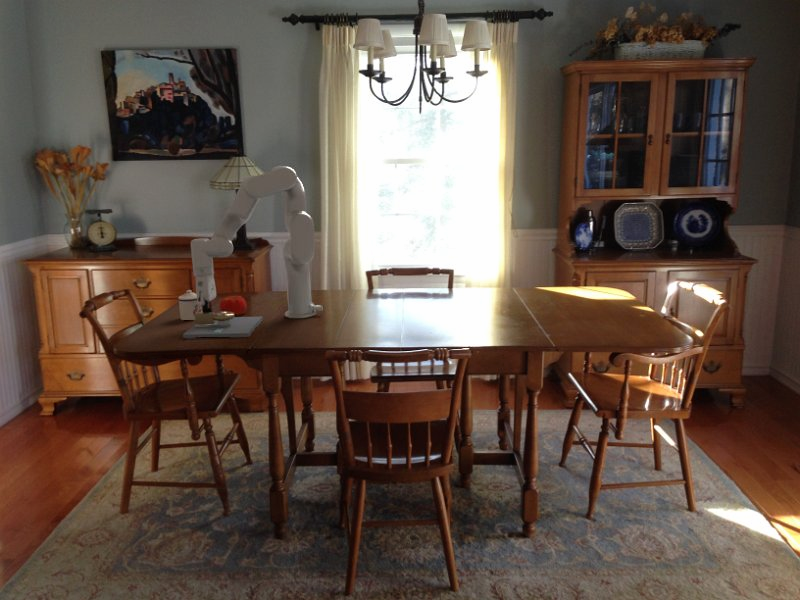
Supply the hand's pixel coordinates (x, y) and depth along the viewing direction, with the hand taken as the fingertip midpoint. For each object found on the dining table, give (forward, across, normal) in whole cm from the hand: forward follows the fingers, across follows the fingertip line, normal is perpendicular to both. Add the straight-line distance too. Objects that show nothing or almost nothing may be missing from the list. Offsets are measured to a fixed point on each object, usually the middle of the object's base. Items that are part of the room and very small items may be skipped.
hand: (207, 317), depth 261 cm
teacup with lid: (+4, +14, +11) cm, 18 cm away
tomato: (+4, +18, -5) cm, 19 cm away
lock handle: (+1, -4, -4) cm, 6 cm away
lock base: (+3, -4, -8) cm, 9 cm away
